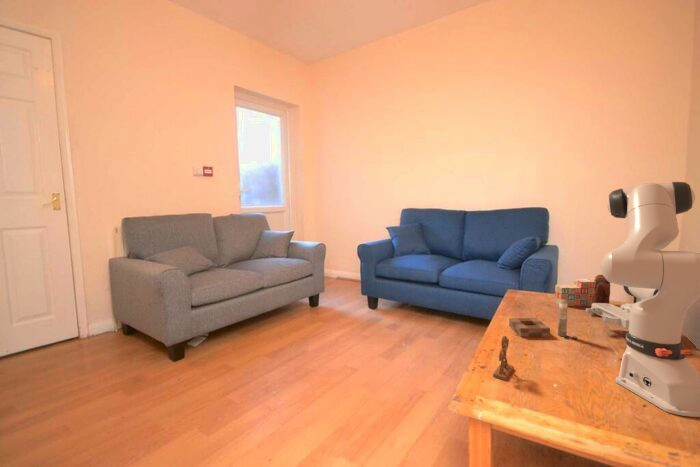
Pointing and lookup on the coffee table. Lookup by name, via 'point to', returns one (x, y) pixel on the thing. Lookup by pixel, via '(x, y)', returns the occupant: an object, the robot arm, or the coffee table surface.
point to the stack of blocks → (576, 292)
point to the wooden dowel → (562, 318)
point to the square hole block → (529, 327)
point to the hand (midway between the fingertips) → (594, 315)
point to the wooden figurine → (601, 291)
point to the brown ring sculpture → (503, 362)
